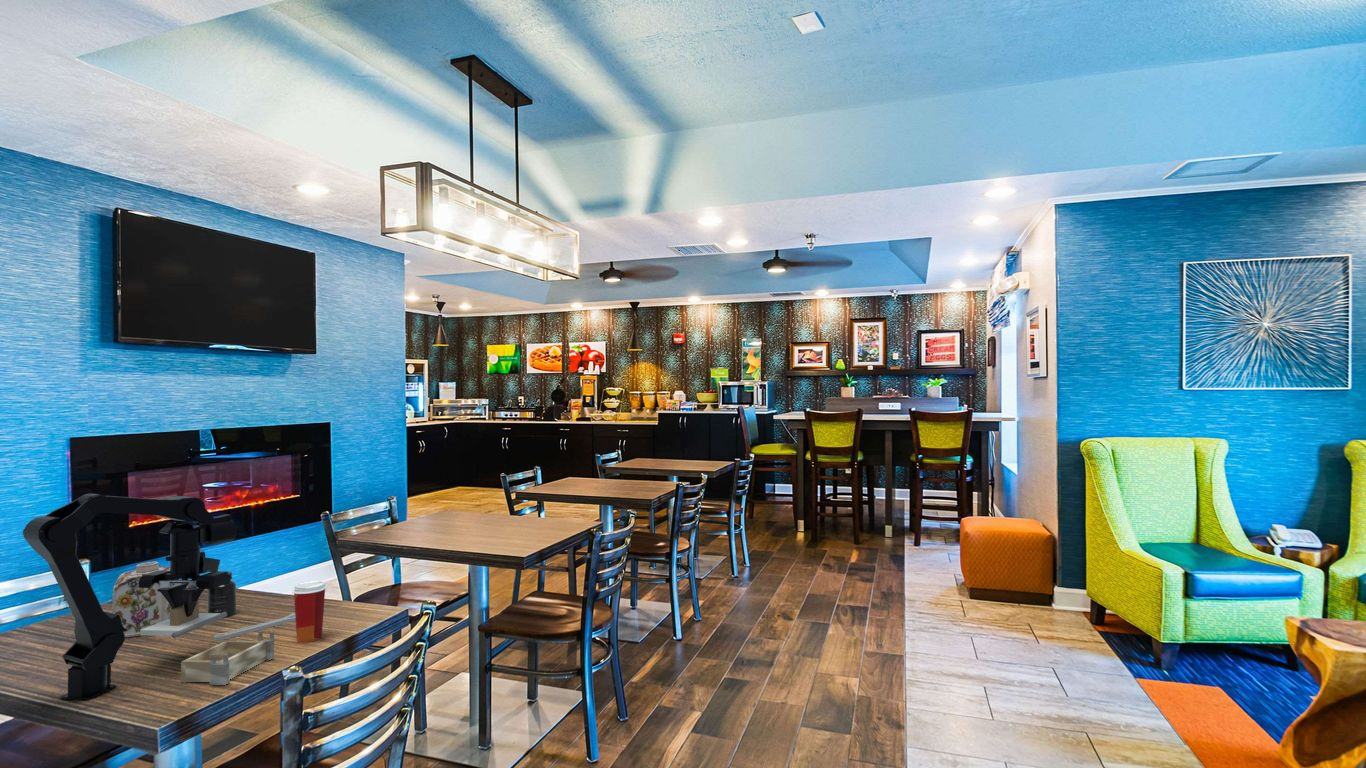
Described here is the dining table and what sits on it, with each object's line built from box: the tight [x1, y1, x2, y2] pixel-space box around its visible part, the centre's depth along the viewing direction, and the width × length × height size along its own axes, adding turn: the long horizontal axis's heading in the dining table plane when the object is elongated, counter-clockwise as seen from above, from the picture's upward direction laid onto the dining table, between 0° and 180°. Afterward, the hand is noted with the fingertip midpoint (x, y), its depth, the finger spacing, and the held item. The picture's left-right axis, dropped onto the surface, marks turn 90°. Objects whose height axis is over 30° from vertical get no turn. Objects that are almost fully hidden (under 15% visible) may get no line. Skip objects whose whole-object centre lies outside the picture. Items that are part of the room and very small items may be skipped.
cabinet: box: [180, 630, 275, 686], centre depth 152 cm, size 15×11×6 cm
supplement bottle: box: [207, 571, 237, 618], centre depth 192 cm, size 7×7×12 cm
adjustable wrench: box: [213, 612, 296, 642], centre depth 182 cm, size 25×6×2 cm, turn 139°
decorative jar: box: [111, 561, 172, 639], centre depth 180 cm, size 12×12×18 cm
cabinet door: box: [140, 601, 227, 639], centre depth 157 cm, size 15×10×5 cm
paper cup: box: [292, 580, 327, 644], centre depth 172 cm, size 8×8×14 cm
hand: (184, 616), depth 157 cm, fingers closed on cabinet door
